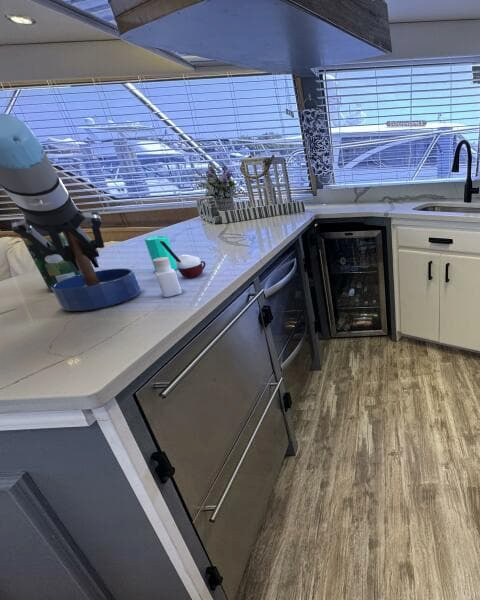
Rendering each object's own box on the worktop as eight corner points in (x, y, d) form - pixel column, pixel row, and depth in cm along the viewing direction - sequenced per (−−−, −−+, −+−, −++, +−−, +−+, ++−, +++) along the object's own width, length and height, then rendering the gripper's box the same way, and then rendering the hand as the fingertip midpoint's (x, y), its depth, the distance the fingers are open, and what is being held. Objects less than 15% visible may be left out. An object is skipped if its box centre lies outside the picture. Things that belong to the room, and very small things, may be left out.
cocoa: (206, 271, 101) (195, 233, 96) (211, 275, 97) (199, 236, 92) (171, 278, 96) (157, 238, 91) (174, 283, 91) (160, 242, 86)
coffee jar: (49, 285, 94) (16, 221, 86) (85, 278, 99) (57, 217, 91) (47, 294, 87) (12, 225, 80) (86, 286, 92) (56, 220, 85)
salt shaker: (164, 298, 81) (151, 262, 77) (162, 294, 84) (149, 259, 80) (182, 294, 83) (171, 258, 79) (180, 290, 86) (168, 255, 82)
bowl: (58, 319, 72) (45, 294, 69) (67, 299, 83) (56, 277, 80) (142, 300, 80) (133, 277, 78) (140, 285, 91) (132, 264, 89)
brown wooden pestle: (81, 295, 75) (47, 224, 68) (83, 290, 78) (51, 222, 72) (108, 290, 77) (79, 221, 71) (109, 285, 81) (81, 219, 75)
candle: (161, 273, 100) (147, 235, 96) (152, 271, 103) (138, 234, 99) (181, 268, 105) (169, 231, 100) (172, 266, 108) (160, 230, 103)
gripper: (-18, 218, 55) (46, 285, 73) (101, 208, 63) (131, 270, 82) (-25, 185, 56) (39, 258, 75) (91, 179, 65) (123, 246, 84)
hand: (87, 264), depth 78 cm, fingers closed on brown wooden pestle, 2 cm apart
